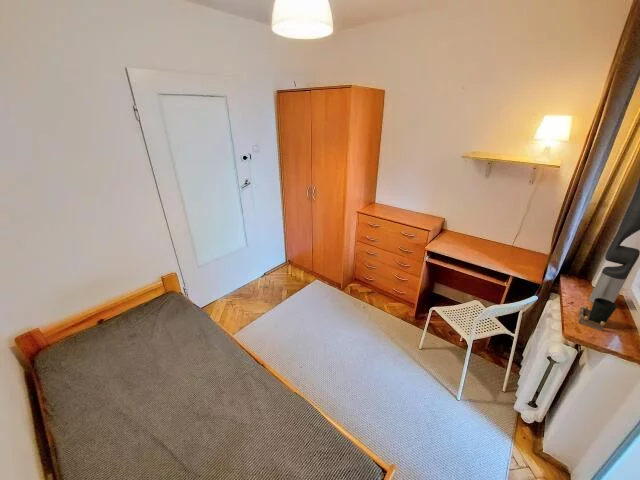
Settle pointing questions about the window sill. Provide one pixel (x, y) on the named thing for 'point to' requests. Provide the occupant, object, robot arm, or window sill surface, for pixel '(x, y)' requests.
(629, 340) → the window sill surface
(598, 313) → the cup
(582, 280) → the window sill surface
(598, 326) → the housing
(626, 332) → the window sill surface
